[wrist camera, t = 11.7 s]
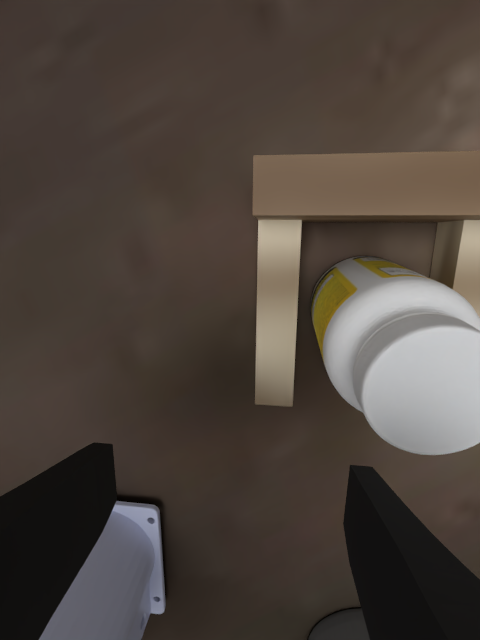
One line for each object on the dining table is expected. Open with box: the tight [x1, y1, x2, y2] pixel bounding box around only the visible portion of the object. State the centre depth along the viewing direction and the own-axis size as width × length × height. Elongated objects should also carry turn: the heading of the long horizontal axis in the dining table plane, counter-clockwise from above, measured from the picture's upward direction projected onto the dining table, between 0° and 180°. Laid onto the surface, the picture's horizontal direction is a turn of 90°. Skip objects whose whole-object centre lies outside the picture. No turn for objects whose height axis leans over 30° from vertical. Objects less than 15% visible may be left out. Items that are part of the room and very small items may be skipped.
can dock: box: [253, 151, 480, 407], centre depth 15 cm, size 12×11×6 cm
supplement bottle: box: [310, 256, 480, 455], centre depth 14 cm, size 5×5×10 cm
